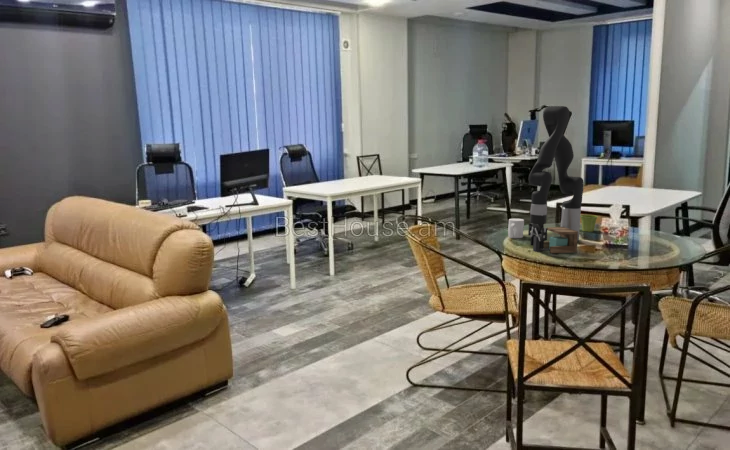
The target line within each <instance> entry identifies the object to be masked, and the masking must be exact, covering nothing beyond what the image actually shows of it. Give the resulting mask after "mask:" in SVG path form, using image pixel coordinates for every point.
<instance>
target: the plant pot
mask: <svg viewBox="0 0 730 450" xmlns="http://www.w3.org/2000/svg"><path fill="white" fill-rule="evenodd" d="M598 218H599V216H598V215H592V214H581V215H580V222H581V230H582V232H588V233H594V231H595V227H596V222H597V220H598Z"/></svg>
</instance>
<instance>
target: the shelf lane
mask: <svg viewBox="0 0 730 450" xmlns="http://www.w3.org/2000/svg"><path fill="white" fill-rule="evenodd" d="M546 228H547V232H548V231H549V232H552V233H554V234H557V235H559V236H562V237H564V238H567V239H568V244H567V246H550V250H549V253H550V254H566V253H577V252H578V241H577V237H578V231H575V230H572V229H569V228H566V227H560V226H553V227H550V226H549V227H546ZM549 243H550V240H546V241H544V248H543V249H549Z"/></svg>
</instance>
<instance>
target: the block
mask: <svg viewBox="0 0 730 450" xmlns="http://www.w3.org/2000/svg"><path fill="white" fill-rule="evenodd" d="M549 241H550V243H549V248H543V249H539V238H538V237H537V235H536V236H534V244H533V245H532V246H533V248H532V251H533V252H543V251H550V246H567V244H568V239H567V238H564V237H562V236H560V235H559V236H550V237H549Z"/></svg>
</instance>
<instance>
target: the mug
mask: <svg viewBox="0 0 730 450" xmlns="http://www.w3.org/2000/svg"><path fill="white" fill-rule="evenodd" d="M507 227H508V228H507V229H508V230H507V237H508V238H511V239H522V238H523V237H524V227H525V219H523V218H509V219H508V225H507Z"/></svg>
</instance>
